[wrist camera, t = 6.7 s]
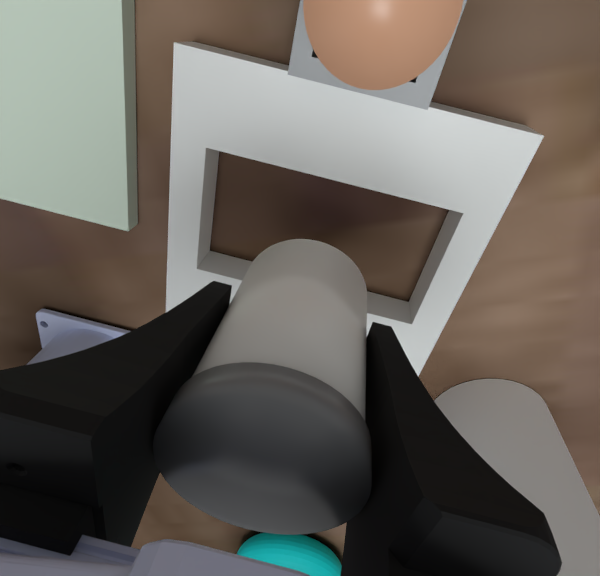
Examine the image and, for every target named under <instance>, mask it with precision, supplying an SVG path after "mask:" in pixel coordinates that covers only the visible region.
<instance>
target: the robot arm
mask: <svg viewBox="0 0 600 576" xmlns="http://www.w3.org/2000/svg"><path fill="white" fill-rule="evenodd" d="M231 289H232V285H228V284H225V283H221V282H217V281H212V282H211V283H209V284H208V285H206V286H205V287H203V288H202V289H201V290H199V291H198V292H196V293H195V294H194V295H192V296H191V297H189V298H188V299H186V300H185V301H183V302H182V303H180V304H179V305H177V306H176V307H174V308H172V309H171V310H169V311H168V312H166V313H164V314H163V315H161V316H159V317H157V318H156V319H154V320H152V321H150V322H149V323H147V324H145V325H143V326H141V327H139V328H137V329H135V330H133V331H128V330H125V329H121V328H117V327H113V326H109V325H105V324H102V323H98V322H94V321H90V320H86V319H82V318H79V317H75V316H71V315H67V314H63V313H59V312H55V311H52V310H48V309H40V310H39V311H38V312H37V313H36V320H37V325H38V330H39V335H40V340H41V345H42V350H41V351H40V352H39V353H38V354H37V355H36V356H35V357H34V358H33V359H31V360H30V361H29V362H28V363H27V364H26V365H24V366H19V367H15V368H10V369H5V370H0V576H310V575H308V574H305V573H303V572H301V571H297V570H293V569H290V568H286V567H282V566H278V565H274V564H271V563H267V562H263V561H259V560H256V559H252V558H248V557H244V556H240V555H237V554H233V553H229V552H225V551H221V550H218V549H214V548H210V547H206V546H202V545H199V544H195V543H191V542H186V541H178V540H170V539H164V540H159V541H155V542H150V543H148V544H146V545H143V546H142V548H141V550H139V549H135V548H131V545H132V542H133V539H134V537H135V534H136V531H137V529H138V526H139V524H140V521H141V518H142V516H143V513H144V511H145V508H146V506H147V503H148V500H149V498H150V495H151V493H152V490H153V488H154V485H155V483H156V480H157V478H158V475H159V473H160V471H159V468H158V466H157V464H156V461H155V458H154V454H153V439H154V435H155V432H156V429H157V427H158V426H159V424H160V422H161V420H162V418H163V416H164V415H165V413H166V411H167V409H168V407H169V405H170V403H171V402H172V400H173V398H174V396H175V395H176V393H177V391H178V390H179V388H180V387H181V386H182V385H183V384H184V383H185V382H186V381H188V380H189V379H190V378H192V376H193V374H194V372H195V370H196V368H197V366H198V364H199V363H200V361H201V359H202V357H203V355H204V353H205V351H206V349H207V347H208V345H209V343H210V341H211V340H212V338H213V336H214V334H215V332H216V330H217V328H218V326H219V324H220V322H221V320H222V319H223V317H224V315H225V313H226V311H227V309H228V307H229V304H230V296H231ZM365 422H366V425H367V427H368V429H369V432H370V437H371V446H372V487H371V493H370V496H369V498H368V501H367V503H366V504H365V506H364V507H363V509H362V510H361V511H360V512H359V513H358V514H357V515H356V516H355V517H353V518H352V519H350V520H349V521H347V526H346V535H345V543H344V552H343V560H342V568H341V576H557V575H558V573H559V572H560V569H561V565H562V561H561V557H560V554H559V551H558V548H557V545H556V543H555V540H554V537H553V534H552V531H551V529H550V526H549V524H548V521H547V519H546V517H545V515H544V513H543V512H542V511H541V510H540V509H538V508H537V507H536V506H535V505H534V504H533V503H531V502H530V501H529V500H528V499H527V498H525V497H524V496H523V495H522V494H521V493H519V492H518V491H517V490H516V489H515V488H513V487H512V486H511V485H510V484H509V483H508V482H507V481H506V480H504V479H503V478H502V477H501V476H500V475H499V474H498V473H497V472H496V471H495V470H494V469H493V468H492V467H491V466H490V465H489V464H488V463H487V462H486V461H485V460H484V459H483V458H482V457H481V456H480V455H479V454H478V453H477V452H476V451H475V450H474V449H473V448H472V447H471V446H470V445H469V444H468V442H467V441H466V440H465V439H464V438H463V437H462V436H461V435H460V434H459V432H458V431H457V430H456V429H455V428H454V427H453V425H452V424H451V423H450V422H449V420H448V419H447V418H446V416H445V415H444V414H443V413H442V411H441V410H440V409H439V407H438V406H437V405H436V403H435V402H434V400H433V399H432V397H431V396H430V394H429V393H428V391H427V390H426V388H425V387H424V385H423V384H422V382H421V381H420V379H419V377H418V375H417V374H416V372H415V370H414V368H413V367H412V365H411V363H410V361H409V360H408V358H407V356H406V354H405V352H404V350H403V348H402V346H401V344H400V342H399V340H398V338H397V336H396V334H395V332H394V330H393V329H392V327H391V326H387V325H384V324H380V323H376V322H373V323H372V325H371V328H370V330H369V333H368V335H367V339H366V408H365Z"/></svg>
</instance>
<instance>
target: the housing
mask: <svg viewBox="0 0 600 576" xmlns="http://www.w3.org/2000/svg"><path fill="white" fill-rule="evenodd" d="M466 1H467V0H463V5H462V10H461V14H460V17H459V20H458V23H457V26H456V28H455V30H454V33H453V35H452V37H451V39H450V40H449V42H448V44H447V46H446V47H445V49H444V50H443V51H442V53H441V54H440V56H439V57H438V58H437V59H436V60H435V61H434V63H433V64H432V65H431V66H429V67H428V68H427V69H426V70H425V71H424V72H423V73H421V74H420V75H418V76H417V77H416V78H414V79H412V80H410V81H409V82H407V83H405V84H402V85H400V86H397V87H394V88H390V89H384V90H366V89H360V88H356V87H353V86H350V85H348V84H346V83H344V82H342V81H341V80H339V79H338V78H336V77H335V76H334V75H333V74H331V73H330V72H329V71H328V70H327V69H326V68H325V66H324V65H323V64H322V63H321V62H320V60H319V58H318V57H317V55H316V54H315V52H314V50H313V48H312V45H311V43H310V41H309V38H308V34H307V31H306V26H305V21H304V12H303V0H300V5H299V11H298V16H297V22H296V28H295V34H294V40H293V46H292V52H291V57H290V63H289V65H285V64H281V63H277V62H273V61H269V60H265V59H261V58H257V57H253V56H249V55H245V54H241V53H237V52H233V51H230V50H226V49H222V48H218V47H214V46H210V45H206V44H202V43H198V42H194V41H193V42H174V57H173V90H172V123H171V156H170V188H169V221H168V254H167V286H166V312H168V311H169V310H171V309H172V308H174V307H176V306H177V305H179V304H180V303H182V302H183V301H185V300H186V299H188V298H189V297H191V296H192V295H194V294H195V293H196V292H198V291H199V290H201V289H202V288H203V287H205V286H206V285H208V284H209V283H211V282H212V281H217V282H221V283H225V284H228V285H232V289H231V296H230V303H231V301H232V299H233V297H234V296H235V294H236V292H237V290H238V288H239V286H240V284H241V282H242V280H243V278H244V276H245V274H246V273H247V271H248V269H249V267H250V265H251V264H252V261H248V260H244V259H240V258H236V257H232V256H229V255H225V254H221V253H217V252H213V251H210V243H211V233H212V223H213V212H214V202H215V192H216V181H217V171H218V160H219V151H221V152H225V153H229V154H233V155H237V156H241V157H245V158H249V159H253V160H257V161H260V162H264V163H268V164H272V165H276V166H280V167H284V168H288V169H292V170H296V171H300V172H303V173H307V174H311V175H315V176H319V177H323V178H327V179H331V180H335V181H339V182H343V183H347V184H350V185H354V186H358V187H362V188H366V189H370V190H374V191H378V192H382V193H386V194H390V195H394V196H397V197H401V198H405V199H409V200H413V201H417V202H421V203H425V204H429V205H433V206H437V207H441V208H444V209H448V210H449V212H448V214H447V216H446V218H445V221H444V223H443V225H442V227H441V230H440V232H439V234H438V237H437V239H436V241H435V243H434V246H433V248H432V250H431V252H430V255H429V257H428V259H427V261H426V264H425V266H424V268H423V271H422V273H421V275H420V277H419V280H418V282H417V284H416V286H415V289H414V291H413V293H412V295H411V298H410V300H409V302H407V301H403V300H399V299H395V298H391V297H388V296H384V295H380V294H376V293H372V292H368V291H367V335H368V333H369V330H370V328H371V325H372V323H373V322H376V323H380V324H384V325H387V326H391V327H392V329H393V330H394V332H395V334H396V336H397V338H398V340H399V342H400V344H401V346H402V348H403V350H404V352H405V354H406V356H407V358H408V360H409V361H410V363H411V365H412V367H413V368H414V370H415V372H416V374H417V375H418V376H419V374H420V372H421V370H422V368H423V366H424V364H425V362H426V361H427V359H428V357H429V355H430V353H431V351H432V349H433V347H434V345H435V343H436V341H437V340H438V338H439V336H440V334H441V332H442V330H443V328H444V326H445V324H446V322H447V320H448V319H449V317H450V315H451V313H452V311H453V309H454V307H455V305H456V303H457V301H458V299H459V298H460V296H461V294H462V292H463V290H464V288H465V286H466V284H467V282H468V280H469V278H470V277H471V275H472V273H473V271H474V269H475V267H476V265H477V263H478V261H479V259H480V257H481V256H482V254H483V252H484V250H485V248H486V246H487V244H488V242H489V240H490V238H491V236H492V235H493V233H494V231H495V229H496V227H497V225H498V223H499V221H500V219H501V217H502V215H503V214H504V212H505V210H506V208H507V206H508V204H509V202H510V200H511V198H512V196H513V194H514V193H515V191H516V189H517V187H518V185H519V183H520V181H521V179H522V177H523V175H524V173H525V172H526V170H527V168H528V166H529V164H530V162H531V160H532V158H533V156H534V154H535V152H536V151H537V149H538V147H539V145H540V143H541V141H542V139H543V137H544V136H543V135H542V134H540V133H538V132H536V131H535V130H533V129H531V128H530V127H528V126H526V125H522V124H518V123H514V122H510V121H506V120H502V119H498V118H495V117H491V116H487V115H483V114H479V113H475V112H471V111H467V110H463V109H459V108H455V107H451V106H447V105H443V104H439V103H435V102H431V99H432V97H433V94H434V91H435V88H436V85H437V83H438V80H439V77H440V74H441V71H442V69H443V66H444V63H445V60H446V57H447V55H448V52H449V49H450V46H451V43H452V41H453V38H454V35H455V32H456V29H457V27H458V24H459V21H460V18H461V15H462V13H463V10H464V7H465V4H466ZM229 305H230V304H229Z"/></svg>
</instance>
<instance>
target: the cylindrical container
mask: <svg viewBox="0 0 600 576" xmlns="http://www.w3.org/2000/svg"><path fill="white" fill-rule="evenodd" d="M434 402H435V403H436V405H437V406H438V407H439V409H440V410H441V411H442V413H443V414H444V415H445V416H446V418H447V419H448V420H449V422H450V423H451V424H452V425H453V427H454V428H455V429H456V430H457V431H458V432H459V434H460V435H461V436H462V437H463V438H464V439H465V440H466V441H467V442H468V444H469V445H470V446H471V447H472V448H473V449H474V450H475V451H476V452H477V453H478V454H479V455H480V456H481V457H482V458H483V459H484V460H485V461H486V462H487V463H488V464H489V465H490V466H491V467H492V468H493V469H494V470H495V471H496V472H497V473H498V474H499V475H500V476H501V477H502V478H503V479H504V480H506V481H507V482H508V483H509V484H510V485H511V486H512V487H513V488H515V489H516V490H517V491H518V492H519V493H521V494H522V495H523V496H524V497H525V498H527V499H528V500H529V501H530V502H531V503H533V504H534V505H535V506H536V507H537V508H538V509H540V510H541V511H542V512H543V513H544V515H545V517H546V519H547V521H548V524H549V526H550V529H551V531H552V534H553V537H554V540H555V543H556V545H557V548H558V551H559V554H560V557H561V561H562V565H561V569H560V572H559V573H558V575H557V576H600V516H599V514H598V512H597V510H596V508H595V506H594V503H593V501H592V499H591V497H590V495H589V493H588V491H587V489H586V487H585V485H584V482H583V480H582V478H581V476H580V474H579V472H578V470H577V468H576V466H575V463H574V461H573V459H572V457H571V455H570V453H569V451H568V449H567V447H566V444H565V442H564V440H563V438H562V436H561V434H560V432H559V430H558V428H557V426H556V423H555V421H554V419H553V417H552V415H551V413H550V411H549V409H548V407H547V404H546V403H545V401H544V400H543V399H542V397H541V396H540V395H539V394H538V393H536V392H535V391H534V390H533V389H531V388H529V387H527V386H525V385H523V384H520V383H517V382H514V381H509V380H504V379H479V380H473V381H469V382H465V383H461V384H459V385H456V386H454V387H452V388H450V389H448V390H447V391H445V392H443V393H442V394H441V395H440V396H438V397H437V398H436V399H435V400H434Z"/></svg>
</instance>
